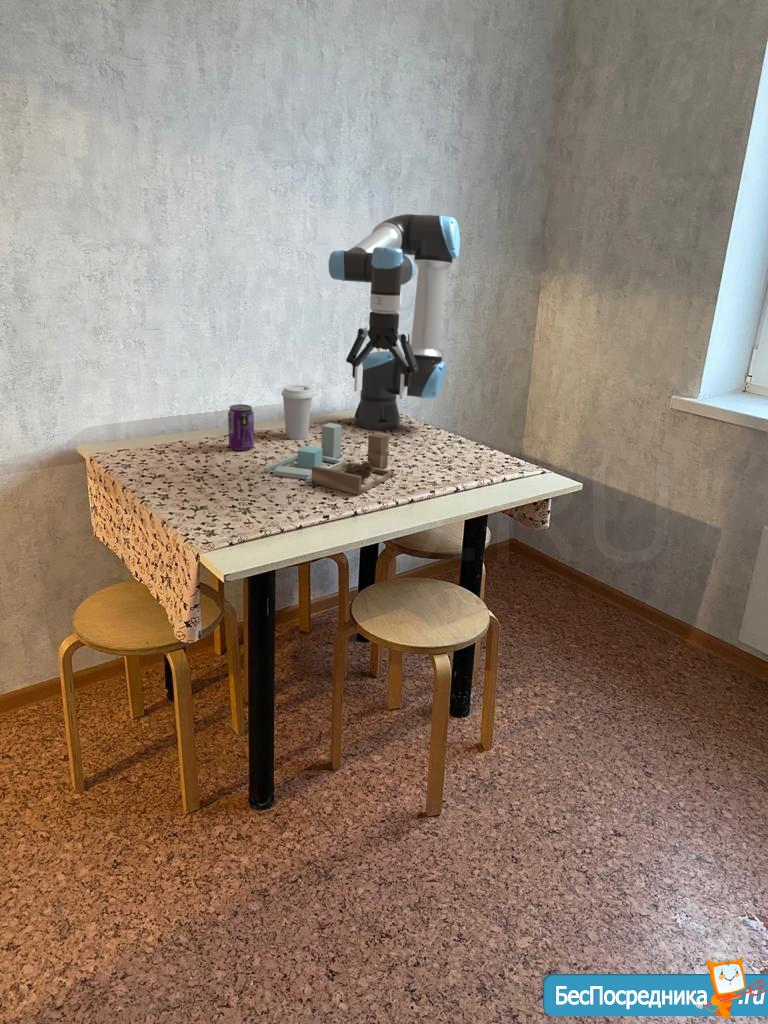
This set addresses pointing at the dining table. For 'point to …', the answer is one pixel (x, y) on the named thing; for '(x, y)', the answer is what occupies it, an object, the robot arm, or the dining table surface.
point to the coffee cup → (297, 410)
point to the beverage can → (241, 427)
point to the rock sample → (361, 470)
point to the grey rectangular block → (292, 472)
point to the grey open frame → (329, 451)
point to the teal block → (309, 457)
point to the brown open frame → (350, 481)
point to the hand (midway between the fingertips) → (380, 394)
